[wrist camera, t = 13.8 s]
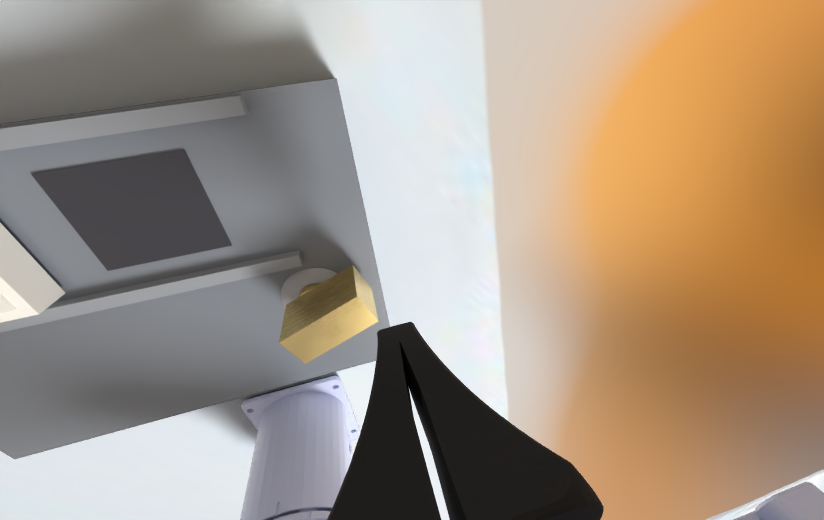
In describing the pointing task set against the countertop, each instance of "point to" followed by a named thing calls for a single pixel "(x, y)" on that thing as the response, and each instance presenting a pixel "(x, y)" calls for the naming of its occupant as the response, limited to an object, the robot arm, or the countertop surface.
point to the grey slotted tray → (174, 256)
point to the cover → (22, 281)
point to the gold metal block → (327, 314)
